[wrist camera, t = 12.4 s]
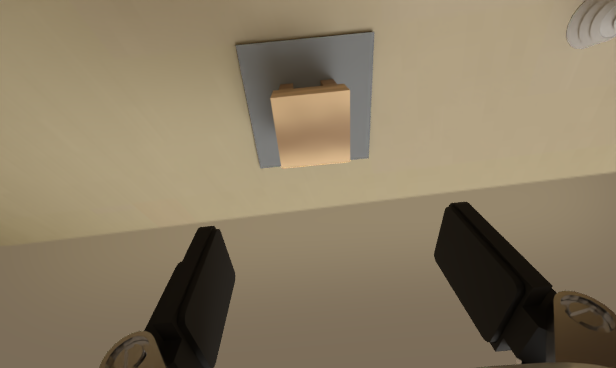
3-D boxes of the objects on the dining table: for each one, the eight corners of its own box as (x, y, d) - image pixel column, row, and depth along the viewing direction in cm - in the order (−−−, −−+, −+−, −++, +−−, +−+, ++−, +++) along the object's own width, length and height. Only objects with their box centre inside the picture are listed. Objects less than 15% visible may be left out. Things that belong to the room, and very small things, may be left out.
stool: (276, 81, 27) (270, 98, 21) (336, 75, 27) (350, 90, 21) (284, 138, 31) (281, 168, 24) (338, 132, 31) (350, 161, 24)
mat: (261, 166, 33) (260, 168, 33) (236, 45, 26) (235, 45, 26) (367, 156, 33) (368, 158, 33) (372, 31, 26) (374, 31, 25)
